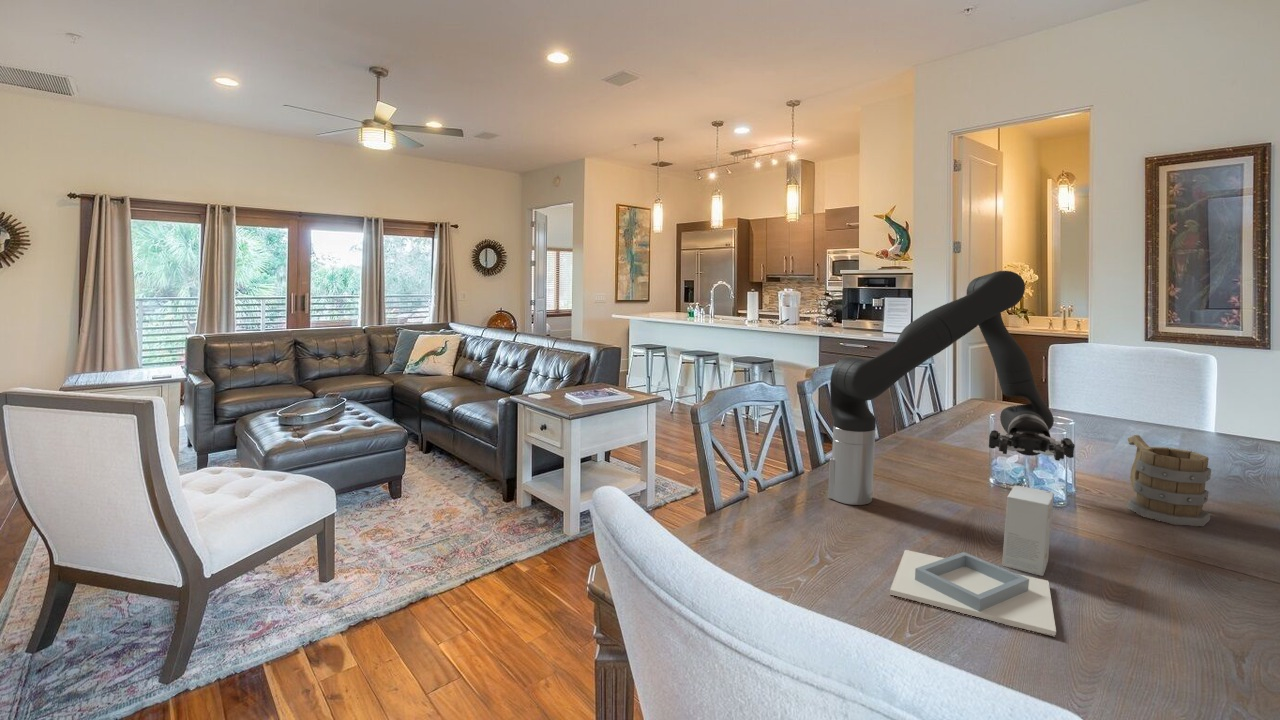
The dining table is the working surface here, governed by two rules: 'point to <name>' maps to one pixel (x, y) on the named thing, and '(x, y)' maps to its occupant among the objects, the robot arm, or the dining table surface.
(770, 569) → the dining table surface
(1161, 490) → the tankard
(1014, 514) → the small box
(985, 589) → the jig cradle
